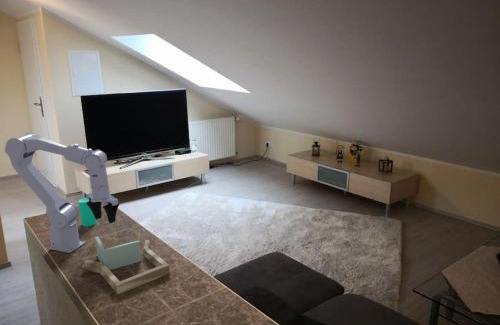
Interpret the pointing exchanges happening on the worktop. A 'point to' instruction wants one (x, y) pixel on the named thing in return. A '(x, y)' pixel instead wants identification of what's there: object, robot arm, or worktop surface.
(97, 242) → the l-shaped corner panel
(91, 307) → the worktop surface
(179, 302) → the worktop surface
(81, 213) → the candle
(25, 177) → the robot arm
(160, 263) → the pocket
